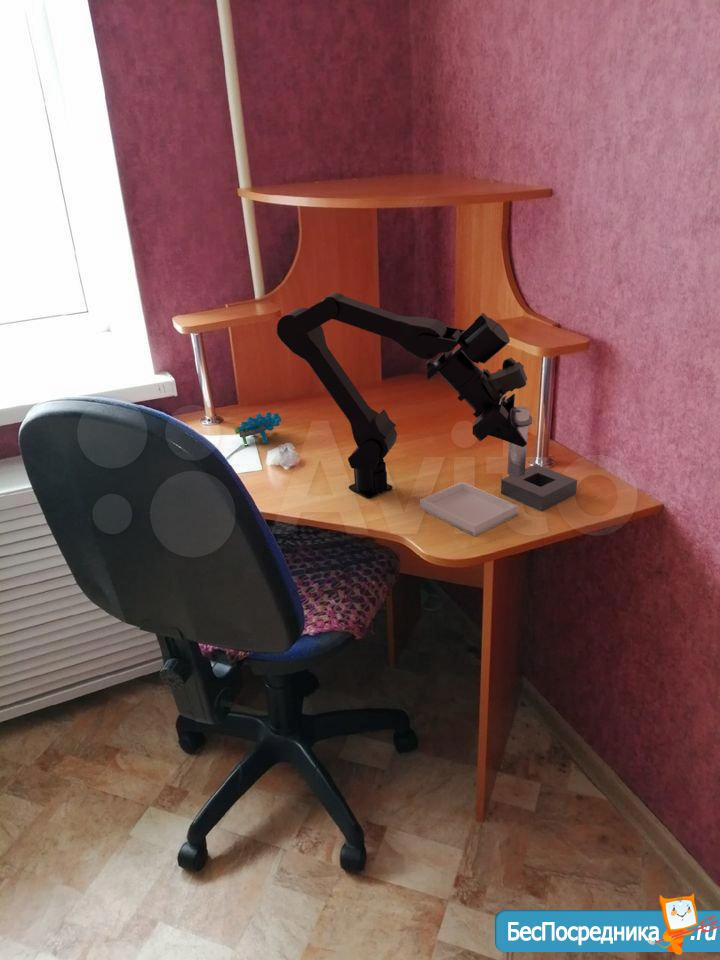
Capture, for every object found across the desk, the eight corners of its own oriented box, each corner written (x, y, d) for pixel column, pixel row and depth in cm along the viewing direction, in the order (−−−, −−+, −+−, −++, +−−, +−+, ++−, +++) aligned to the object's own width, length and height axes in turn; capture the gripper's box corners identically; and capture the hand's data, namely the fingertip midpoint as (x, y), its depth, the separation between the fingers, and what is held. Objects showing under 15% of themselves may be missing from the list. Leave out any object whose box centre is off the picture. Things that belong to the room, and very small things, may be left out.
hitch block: (500, 493, 145) (501, 479, 144) (534, 477, 151) (535, 464, 149) (541, 511, 138) (542, 496, 137) (576, 494, 143) (577, 480, 142)
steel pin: (498, 471, 139) (502, 408, 134) (516, 465, 142) (520, 403, 136) (515, 480, 136) (520, 415, 131) (533, 473, 138) (538, 410, 133)
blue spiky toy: (281, 423, 180) (278, 405, 171) (287, 445, 179) (285, 428, 169) (236, 435, 179) (231, 418, 169) (242, 457, 177) (237, 441, 168)
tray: (420, 508, 141) (420, 499, 140) (462, 490, 147) (462, 481, 146) (474, 536, 131) (474, 526, 130) (517, 515, 137) (517, 505, 136)
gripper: (495, 365, 121) (559, 433, 124) (505, 334, 138) (562, 395, 140) (446, 408, 127) (508, 472, 129) (461, 373, 143) (516, 431, 145)
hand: (525, 440), depth 136 cm, fingers closed on steel pin, 4 cm apart
